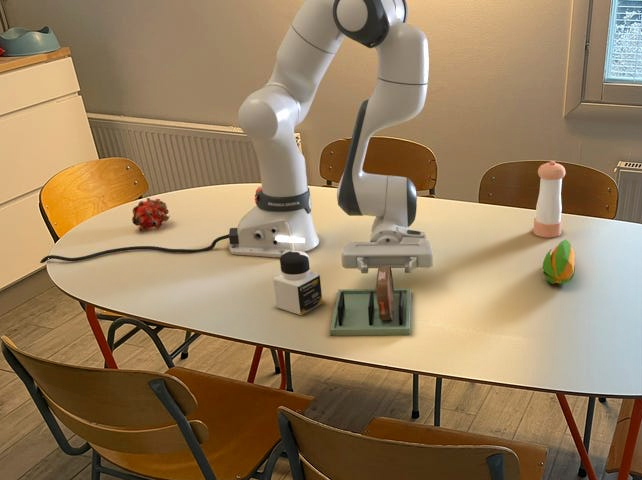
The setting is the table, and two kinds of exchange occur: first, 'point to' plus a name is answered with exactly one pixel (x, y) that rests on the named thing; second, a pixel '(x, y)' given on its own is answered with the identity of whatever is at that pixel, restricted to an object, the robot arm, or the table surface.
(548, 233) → the pepper shaker
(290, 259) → the medicine bottle
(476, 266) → the table surface
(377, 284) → the tin
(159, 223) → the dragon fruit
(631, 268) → the table surface
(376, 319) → the drying rack
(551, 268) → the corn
